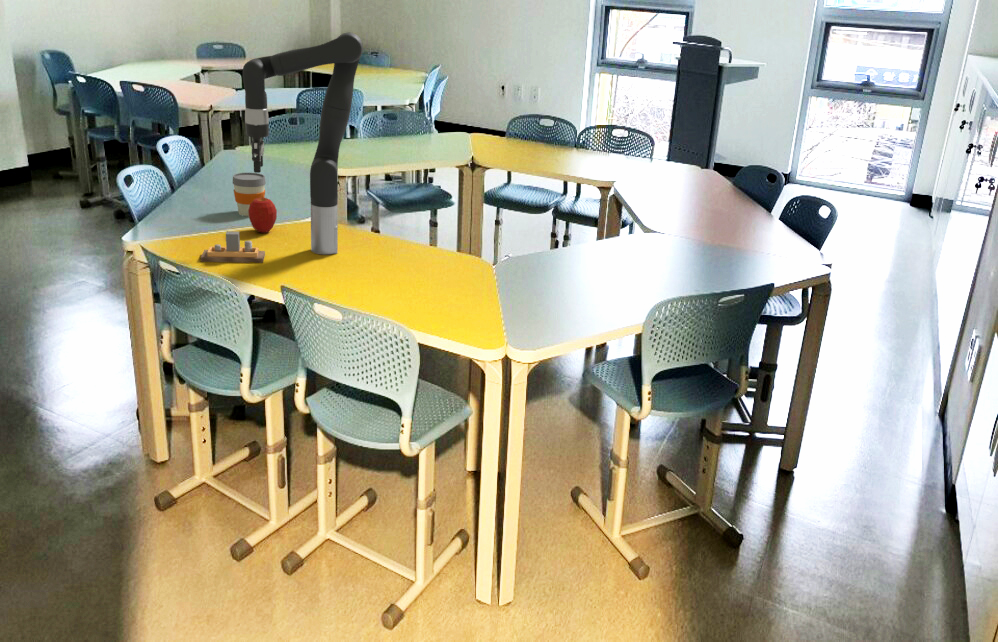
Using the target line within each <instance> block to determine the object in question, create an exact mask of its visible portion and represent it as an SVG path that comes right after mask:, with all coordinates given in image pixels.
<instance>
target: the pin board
mask: <svg viewBox="0 0 998 642" xmlns="http://www.w3.org/2000/svg"><path fill="white" fill-rule="evenodd" d="M214 247H215V252H221V247H222V246H221V244H214ZM244 247H245V252H252V247H253V242H252V240H245V241H244ZM208 250H209V249H204V250H203V251H202V254H201V256H200V262H201V263H203V262H207V263H250V262H255V264H256V263H258V264H259V263H261V264H263V263H264V260H265V257H266V251H265V250H259V252H258V256H257V257H210V256H208V255H207V252H208Z"/></svg>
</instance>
